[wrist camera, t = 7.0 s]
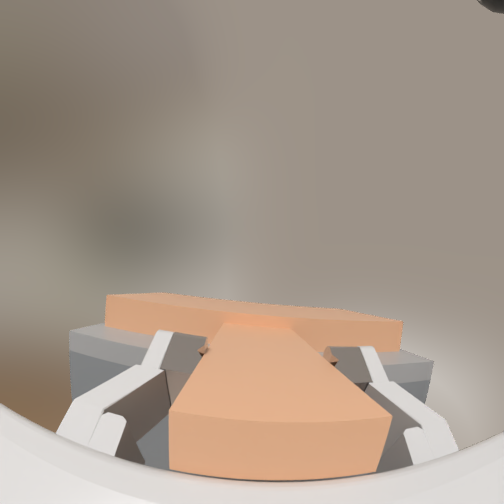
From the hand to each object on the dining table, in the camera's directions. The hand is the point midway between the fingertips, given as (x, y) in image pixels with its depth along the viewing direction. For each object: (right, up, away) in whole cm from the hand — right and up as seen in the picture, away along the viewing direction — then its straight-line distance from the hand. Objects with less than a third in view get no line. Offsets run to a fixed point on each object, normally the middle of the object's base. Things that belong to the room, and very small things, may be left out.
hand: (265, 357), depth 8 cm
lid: (0, -2, +7) cm, 7 cm away
